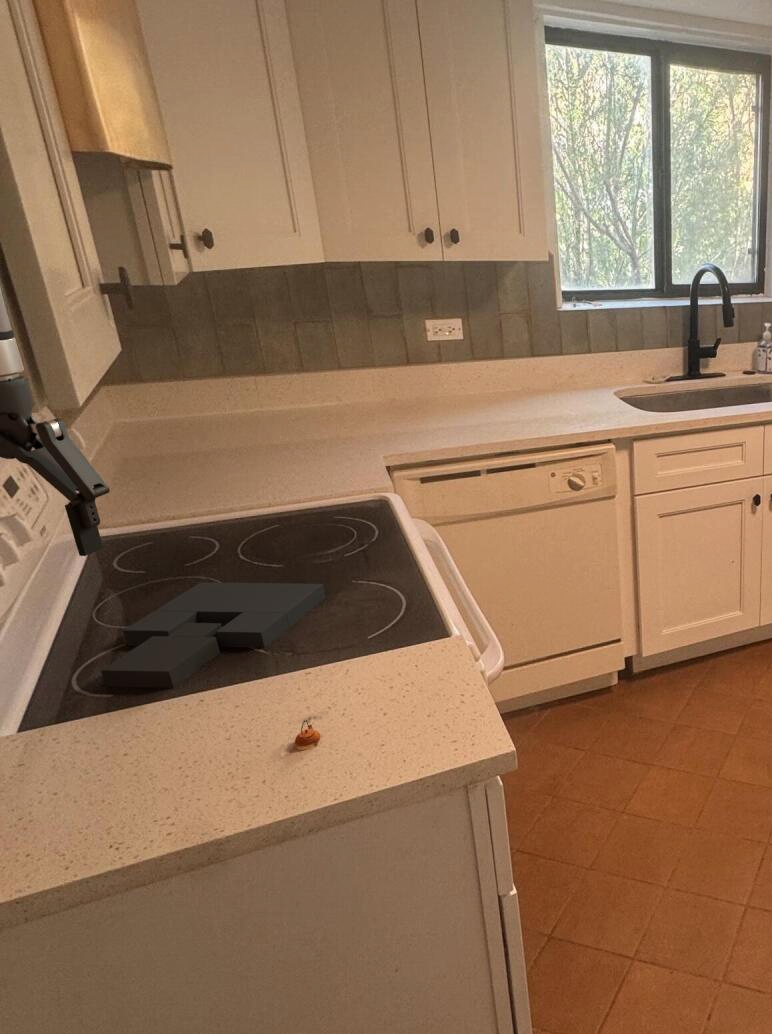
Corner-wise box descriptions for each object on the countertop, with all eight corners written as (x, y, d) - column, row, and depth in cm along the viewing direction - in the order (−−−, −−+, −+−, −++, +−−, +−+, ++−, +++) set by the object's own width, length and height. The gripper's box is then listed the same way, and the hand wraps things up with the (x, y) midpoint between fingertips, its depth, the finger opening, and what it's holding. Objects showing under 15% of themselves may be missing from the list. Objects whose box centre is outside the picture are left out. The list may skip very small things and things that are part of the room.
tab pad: (109, 696, 102) (100, 670, 100) (180, 646, 114) (173, 622, 113) (176, 698, 101) (168, 671, 100) (241, 647, 114) (234, 623, 112)
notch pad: (130, 655, 112) (122, 630, 110) (206, 604, 127) (200, 582, 125) (267, 657, 111) (260, 632, 110) (327, 606, 126) (322, 583, 125)
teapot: (289, 746, 92) (284, 727, 91) (311, 732, 95) (307, 713, 94) (306, 752, 91) (301, 733, 90) (328, 737, 94) (324, 719, 93)
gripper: (116, 375, 92) (159, 541, 99) (-91, 369, 93) (-33, 535, 100) (62, 386, 85) (112, 565, 92) (-162, 380, 85) (-94, 558, 93)
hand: (37, 550), depth 96 cm, fingers open, 13 cm apart
